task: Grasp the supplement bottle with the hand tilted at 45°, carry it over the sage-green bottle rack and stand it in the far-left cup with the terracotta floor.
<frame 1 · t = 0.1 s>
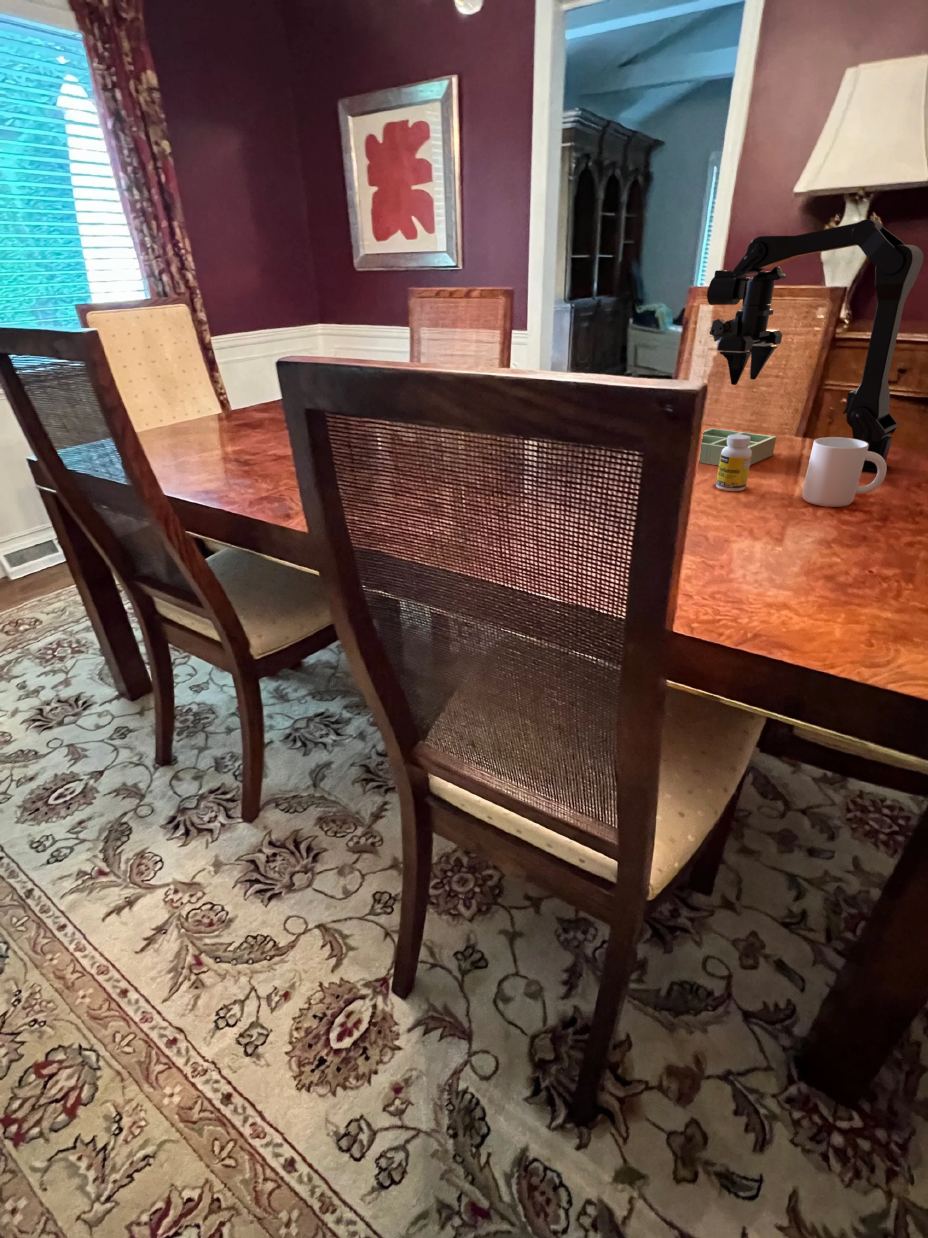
hand: (743, 381, 140), 15 cm above the table, tool pointing down, fingers open, 9 cm apart
rack: (723, 456, 140), on the table
supplement bottle: (730, 488, 120), on the table
mug: (837, 502, 110), on the table
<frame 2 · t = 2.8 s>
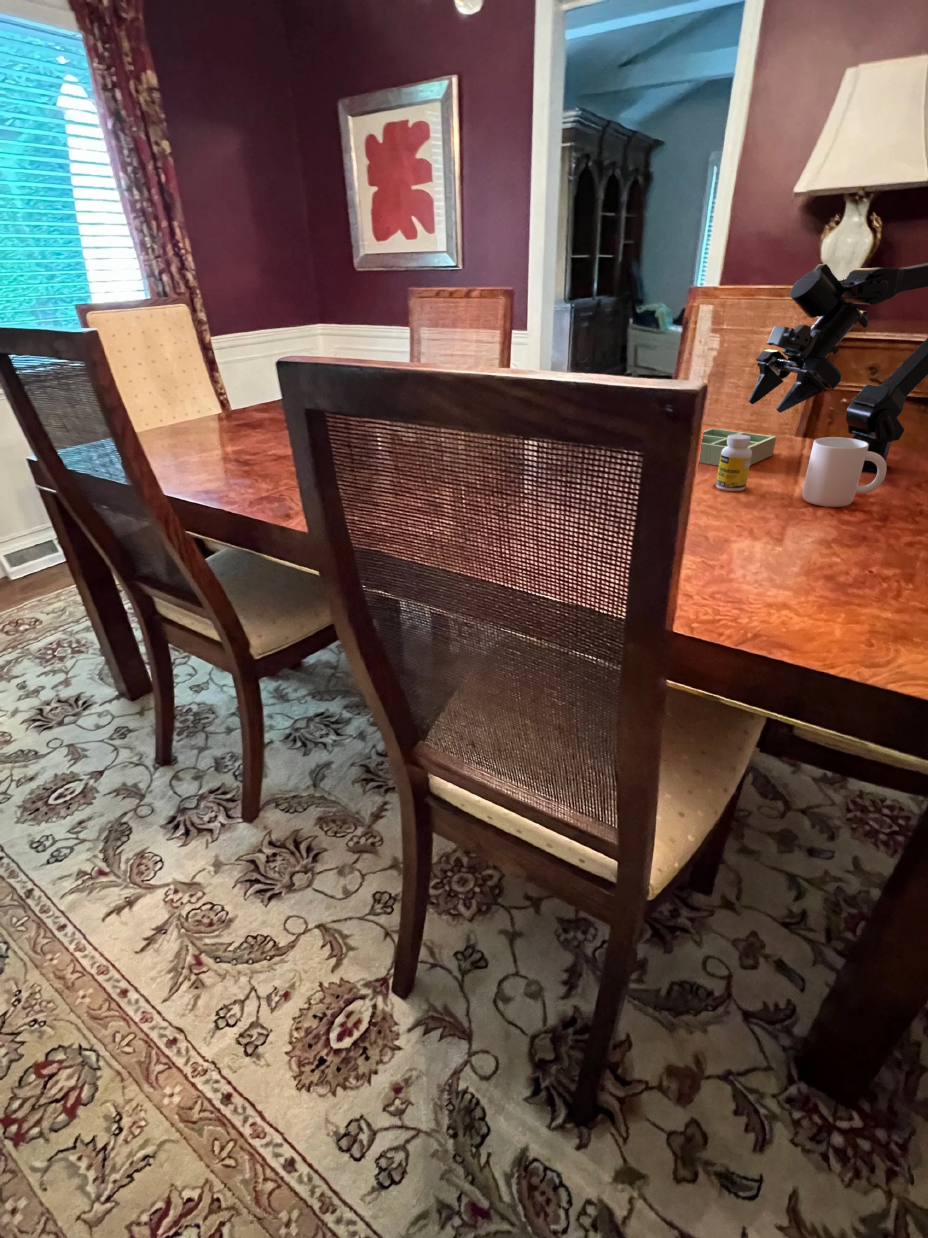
hand: (763, 406, 119), 14 cm above the table, tool tilted 40°, fingers open, 9 cm apart
nothing on the table moved.
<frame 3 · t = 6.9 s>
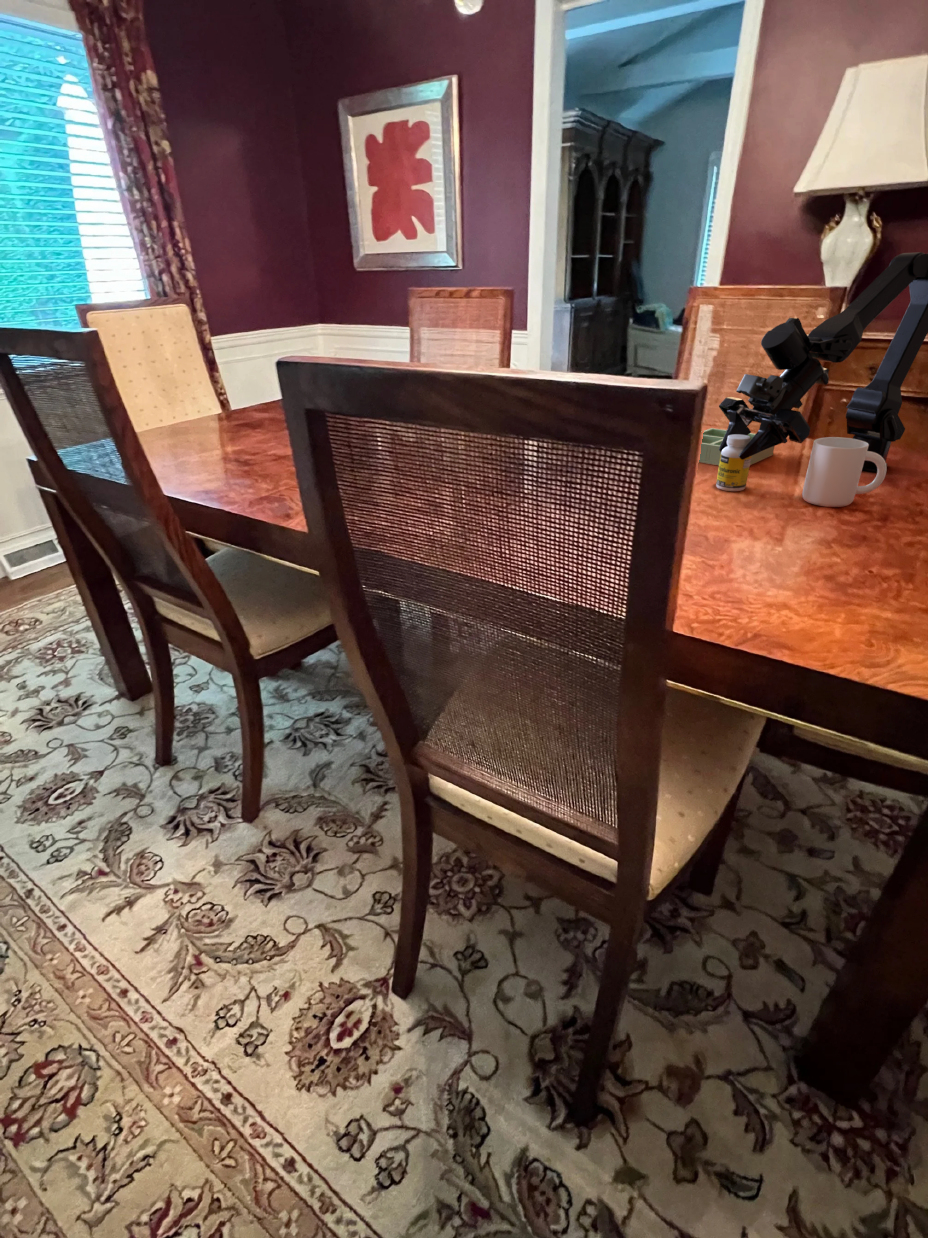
hand: (730, 454, 116), 7 cm above the table, tool tilted 45°, fingers closed on supplement bottle, 5 cm apart
supplement bottle: (730, 488, 120), on the table, touching gripper
everything else where it was.
when the fingers open (7 cm above the table, at t = 14.3 s): supplement bottle stays where it is, resting on rack.
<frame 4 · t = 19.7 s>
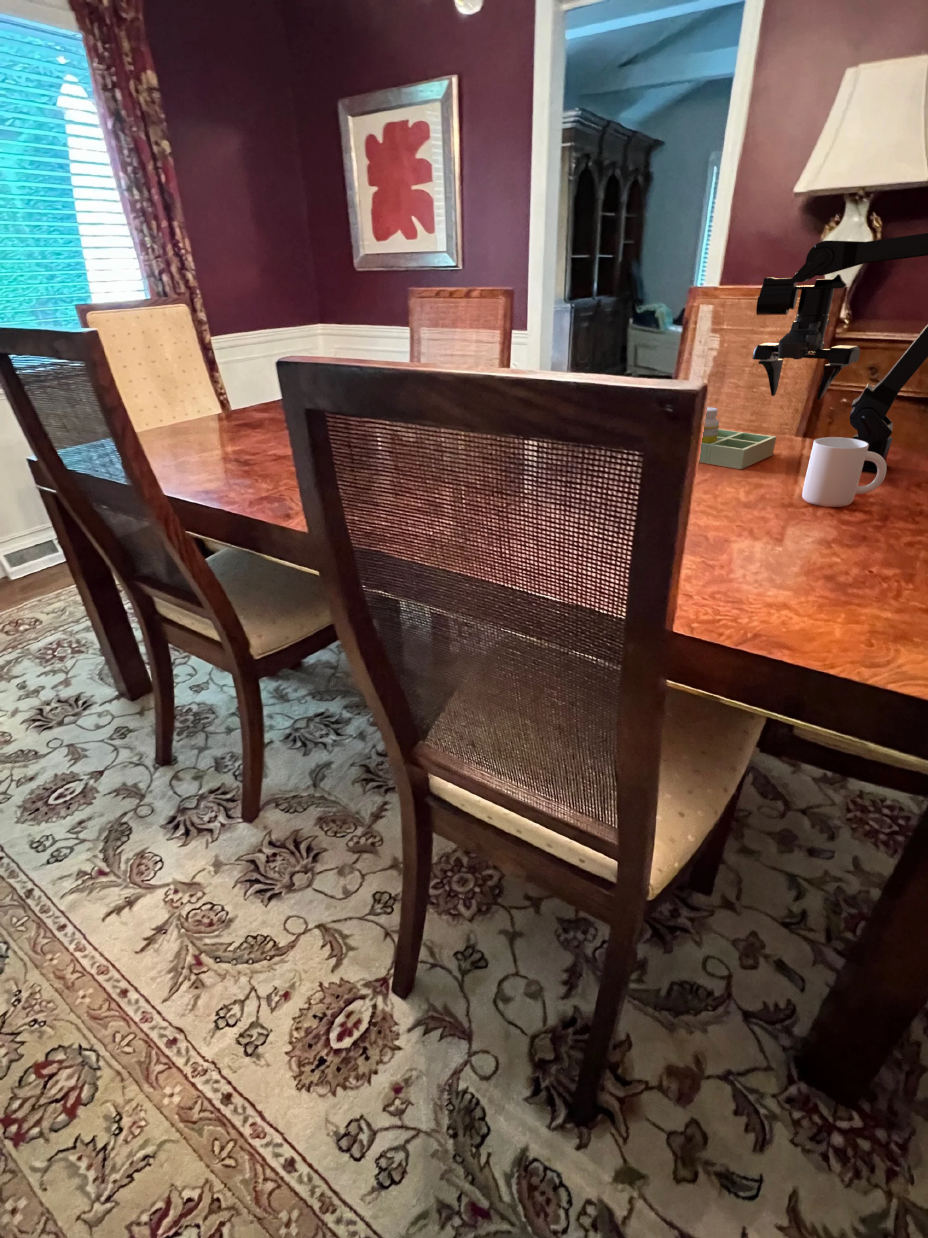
hand: (795, 397, 129), 13 cm above the table, tool pointing down, fingers open, 9 cm apart
supplement bottle: (701, 454, 140), point 1 cm above the table, touching rack
everything else where it was.
at the end: supplement bottle 0.2 cm from the target spot in the rack, point 0.6 cm above the rack's base; supplement bottle tilted 0°; the gripper is holding nothing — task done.
